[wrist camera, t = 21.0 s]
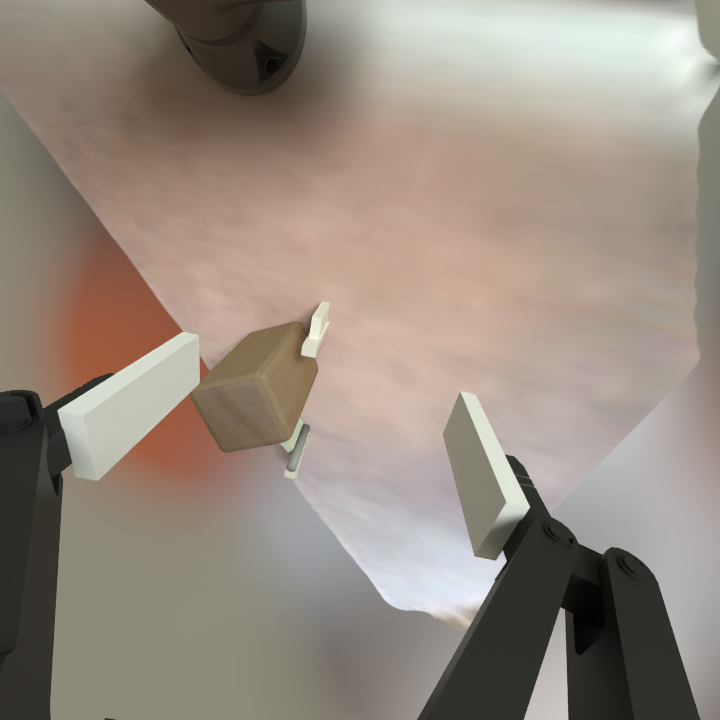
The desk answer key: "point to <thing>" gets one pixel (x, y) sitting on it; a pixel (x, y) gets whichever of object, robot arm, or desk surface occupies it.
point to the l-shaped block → (310, 350)
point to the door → (292, 441)
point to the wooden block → (257, 389)
